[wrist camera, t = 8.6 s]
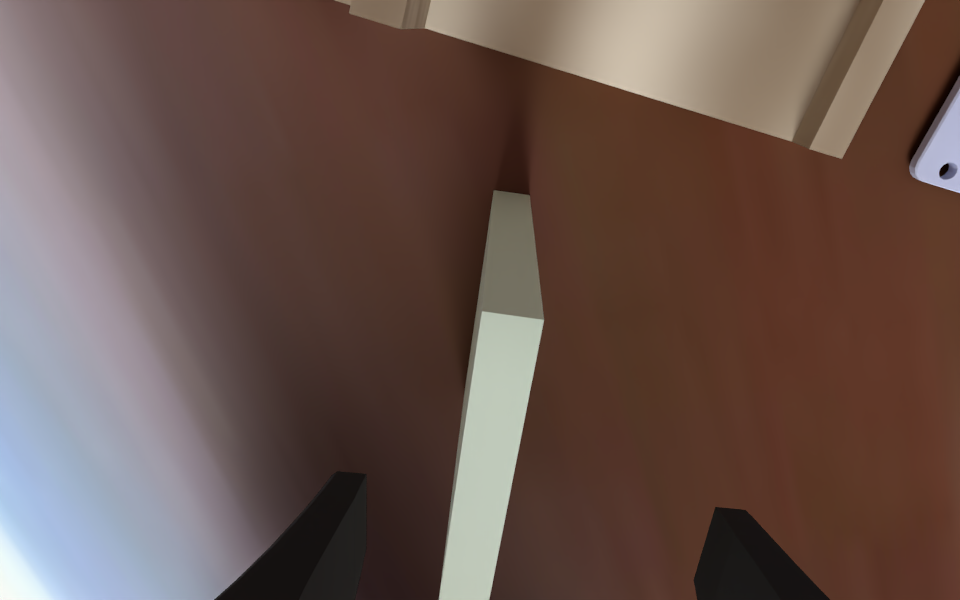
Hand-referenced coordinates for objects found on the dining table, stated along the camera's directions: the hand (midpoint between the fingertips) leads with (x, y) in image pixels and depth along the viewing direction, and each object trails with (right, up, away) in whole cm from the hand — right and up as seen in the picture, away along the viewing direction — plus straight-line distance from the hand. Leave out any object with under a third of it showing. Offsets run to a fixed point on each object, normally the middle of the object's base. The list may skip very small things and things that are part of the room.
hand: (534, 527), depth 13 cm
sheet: (-1, +5, +9) cm, 10 cm away
